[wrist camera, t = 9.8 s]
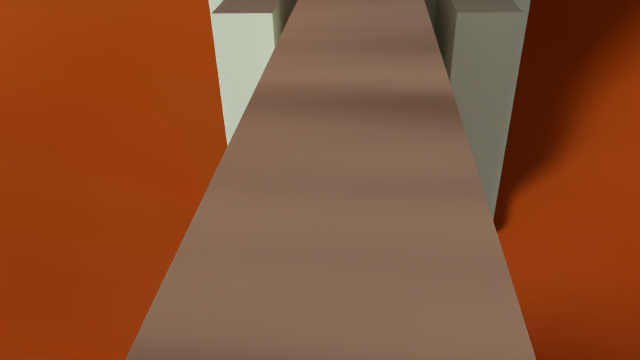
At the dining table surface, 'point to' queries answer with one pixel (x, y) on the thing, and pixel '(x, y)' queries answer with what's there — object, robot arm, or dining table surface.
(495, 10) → the slotted stand
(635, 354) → the dining table surface
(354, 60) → the birch board
